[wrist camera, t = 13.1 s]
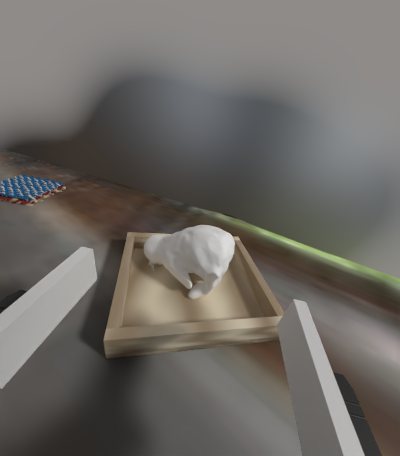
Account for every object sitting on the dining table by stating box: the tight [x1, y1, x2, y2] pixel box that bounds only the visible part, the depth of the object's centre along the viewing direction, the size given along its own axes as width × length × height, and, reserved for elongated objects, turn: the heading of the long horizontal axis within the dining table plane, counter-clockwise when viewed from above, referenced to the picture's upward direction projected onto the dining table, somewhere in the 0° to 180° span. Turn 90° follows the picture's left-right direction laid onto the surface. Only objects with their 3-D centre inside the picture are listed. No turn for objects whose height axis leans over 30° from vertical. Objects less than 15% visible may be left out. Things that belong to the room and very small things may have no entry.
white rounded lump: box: [144, 225, 235, 299], centre depth 24 cm, size 6×8×12 cm
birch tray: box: [103, 232, 284, 359], centre depth 25 cm, size 18×16×3 cm
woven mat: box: [0, 175, 66, 206], centre depth 40 cm, size 10×11×2 cm
